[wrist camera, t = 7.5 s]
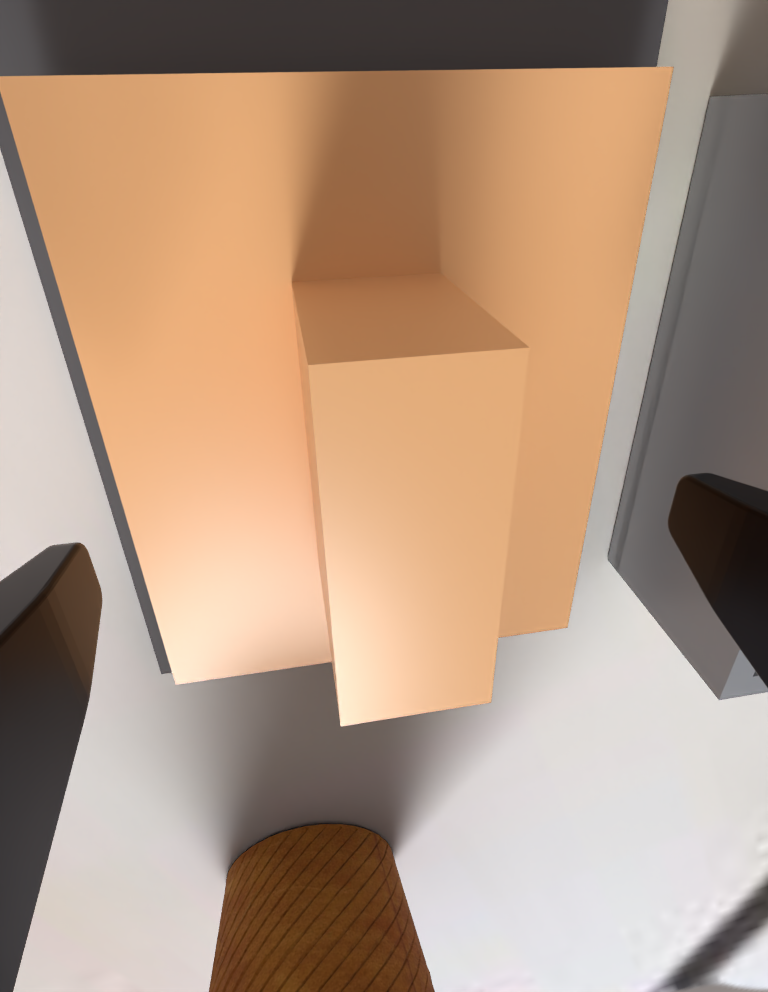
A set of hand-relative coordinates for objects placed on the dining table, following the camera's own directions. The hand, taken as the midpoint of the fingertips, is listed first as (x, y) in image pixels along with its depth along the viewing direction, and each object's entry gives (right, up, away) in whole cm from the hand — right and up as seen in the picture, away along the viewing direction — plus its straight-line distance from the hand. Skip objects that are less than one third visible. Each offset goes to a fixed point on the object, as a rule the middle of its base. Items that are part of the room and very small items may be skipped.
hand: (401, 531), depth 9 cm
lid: (-1, +2, +4) cm, 5 cm away
